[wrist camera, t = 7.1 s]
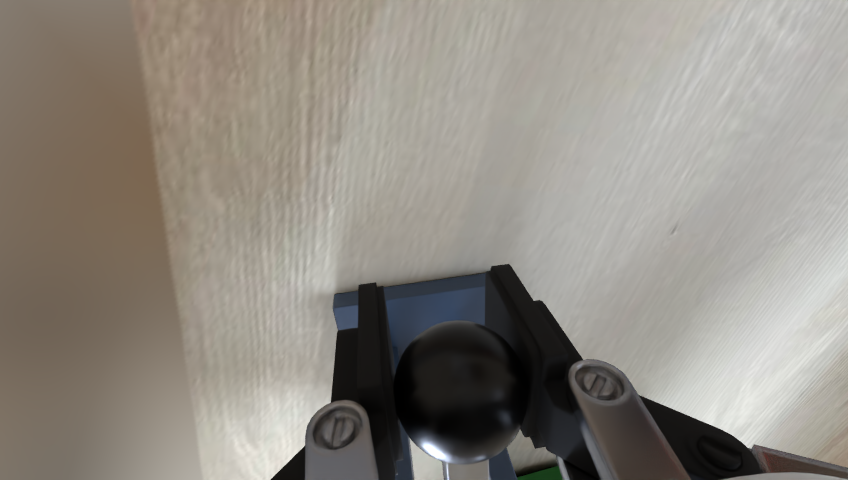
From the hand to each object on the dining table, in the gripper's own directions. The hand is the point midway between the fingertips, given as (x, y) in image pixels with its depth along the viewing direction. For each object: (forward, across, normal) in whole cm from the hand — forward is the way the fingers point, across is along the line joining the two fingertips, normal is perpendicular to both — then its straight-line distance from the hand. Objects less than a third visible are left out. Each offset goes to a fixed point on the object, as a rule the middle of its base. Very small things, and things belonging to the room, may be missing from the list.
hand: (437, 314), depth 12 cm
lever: (-2, 0, +5) cm, 5 cm away
